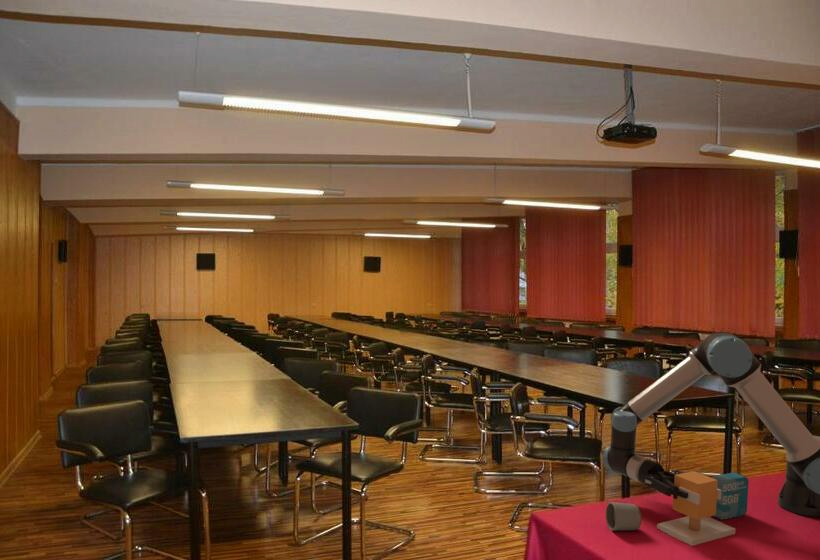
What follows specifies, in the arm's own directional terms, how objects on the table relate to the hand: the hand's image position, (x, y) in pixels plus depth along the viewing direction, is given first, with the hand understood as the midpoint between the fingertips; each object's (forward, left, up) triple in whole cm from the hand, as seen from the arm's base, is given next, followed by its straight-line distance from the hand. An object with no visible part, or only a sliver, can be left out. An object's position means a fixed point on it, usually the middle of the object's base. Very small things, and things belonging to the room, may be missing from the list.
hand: (709, 497), depth 189 cm
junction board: (-2, -6, -12) cm, 14 cm away
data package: (-21, -10, -13) cm, 26 cm away
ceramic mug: (+16, -17, -13) cm, 26 cm away
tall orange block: (0, -5, -6) cm, 8 cm away
